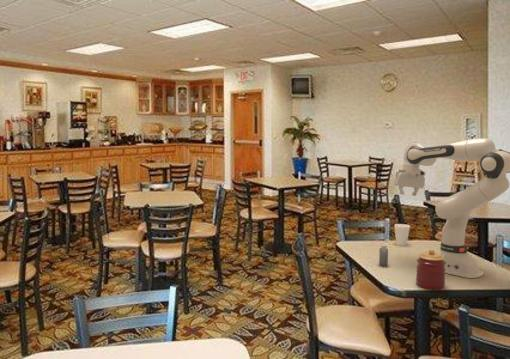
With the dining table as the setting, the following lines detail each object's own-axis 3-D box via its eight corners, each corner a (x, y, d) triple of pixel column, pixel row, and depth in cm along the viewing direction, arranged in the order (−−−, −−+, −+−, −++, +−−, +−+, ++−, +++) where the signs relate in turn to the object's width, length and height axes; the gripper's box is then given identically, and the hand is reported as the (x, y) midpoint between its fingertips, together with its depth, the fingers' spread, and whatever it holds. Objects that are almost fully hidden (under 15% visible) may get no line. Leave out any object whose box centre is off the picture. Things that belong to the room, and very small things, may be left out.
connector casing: (387, 267, 238) (388, 247, 236) (379, 266, 239) (380, 246, 237) (386, 263, 244) (387, 244, 243) (378, 262, 245) (379, 243, 244)
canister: (409, 282, 213) (411, 247, 211) (430, 279, 217) (432, 245, 216) (429, 291, 201) (430, 254, 199) (450, 288, 205) (452, 251, 204)
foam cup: (390, 244, 287) (391, 225, 285) (399, 242, 292) (400, 223, 291) (403, 247, 279) (404, 227, 278) (411, 245, 285) (412, 225, 283)
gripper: (400, 169, 242) (398, 193, 242) (427, 173, 251) (425, 196, 251) (392, 169, 248) (390, 193, 248) (419, 172, 256) (416, 196, 256)
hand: (408, 195), depth 249 cm, fingers open, 8 cm apart
